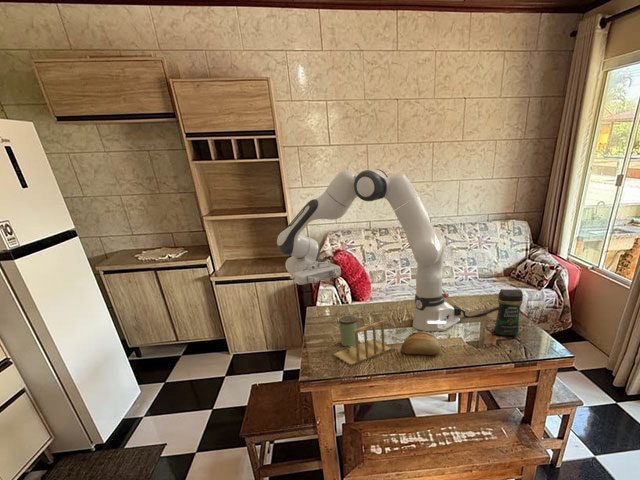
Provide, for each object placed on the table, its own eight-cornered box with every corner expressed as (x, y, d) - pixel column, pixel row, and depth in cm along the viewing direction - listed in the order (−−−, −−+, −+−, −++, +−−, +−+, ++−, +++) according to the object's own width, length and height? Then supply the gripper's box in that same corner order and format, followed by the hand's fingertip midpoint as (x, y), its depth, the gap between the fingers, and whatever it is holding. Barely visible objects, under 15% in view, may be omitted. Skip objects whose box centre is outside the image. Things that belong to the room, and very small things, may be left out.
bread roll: (401, 348, 161) (401, 329, 157) (439, 347, 160) (440, 328, 156) (401, 359, 153) (400, 339, 149) (441, 358, 152) (441, 339, 148)
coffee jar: (495, 336, 168) (500, 292, 158) (493, 329, 174) (497, 286, 165) (519, 336, 166) (525, 292, 157) (516, 329, 173) (522, 286, 164)
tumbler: (351, 339, 170) (349, 314, 165) (361, 344, 166) (359, 319, 160) (338, 344, 167) (335, 319, 161) (347, 349, 162) (345, 323, 156)
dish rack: (373, 340, 168) (371, 310, 162) (392, 349, 160) (391, 318, 154) (332, 355, 157) (329, 324, 151) (350, 366, 149) (347, 333, 143)
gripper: (286, 269, 164) (303, 275, 155) (329, 260, 176) (347, 265, 166) (289, 284, 168) (305, 291, 158) (330, 274, 179) (348, 280, 169)
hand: (327, 278), depth 162 cm, fingers open, 8 cm apart
